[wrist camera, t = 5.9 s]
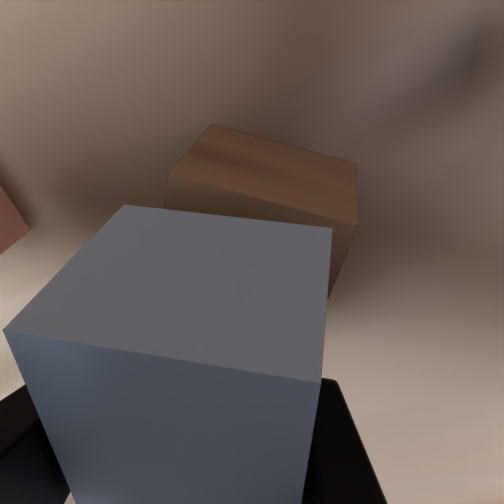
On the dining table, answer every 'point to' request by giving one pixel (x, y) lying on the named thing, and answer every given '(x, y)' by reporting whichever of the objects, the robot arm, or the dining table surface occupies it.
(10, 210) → the terracotta brick
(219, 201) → the walnut brick
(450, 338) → the dining table surface
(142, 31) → the dining table surface
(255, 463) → the slate blue brick
